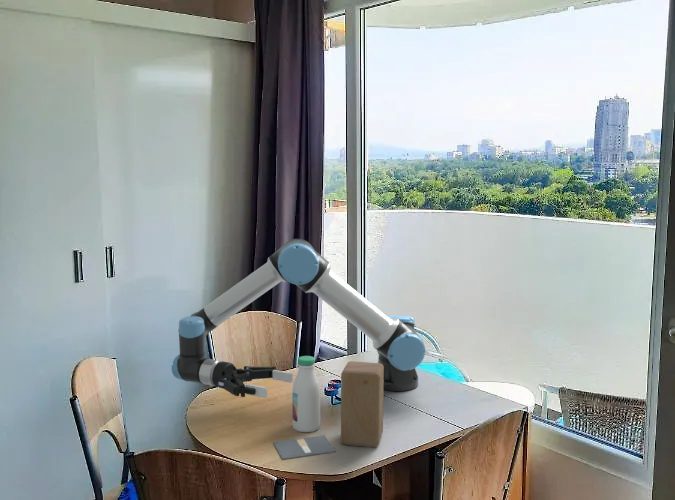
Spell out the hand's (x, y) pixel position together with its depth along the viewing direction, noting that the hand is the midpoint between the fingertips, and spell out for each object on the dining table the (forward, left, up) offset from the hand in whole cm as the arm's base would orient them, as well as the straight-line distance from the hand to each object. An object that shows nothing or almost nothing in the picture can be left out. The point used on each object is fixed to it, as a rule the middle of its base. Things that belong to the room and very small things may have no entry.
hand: (280, 385), depth 178 cm
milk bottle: (-6, +6, -11) cm, 14 cm away
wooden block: (-18, +18, -11) cm, 28 cm away
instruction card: (-2, +18, -11) cm, 21 cm away
